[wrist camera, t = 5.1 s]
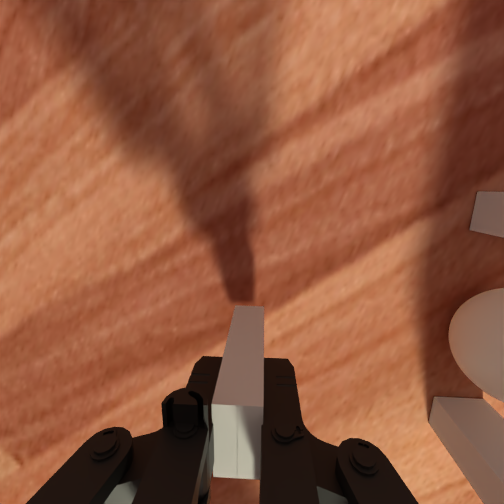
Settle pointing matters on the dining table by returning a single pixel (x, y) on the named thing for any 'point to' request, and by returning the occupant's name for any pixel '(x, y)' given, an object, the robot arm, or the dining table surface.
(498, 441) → the bridge
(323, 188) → the dining table surface
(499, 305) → the ball
